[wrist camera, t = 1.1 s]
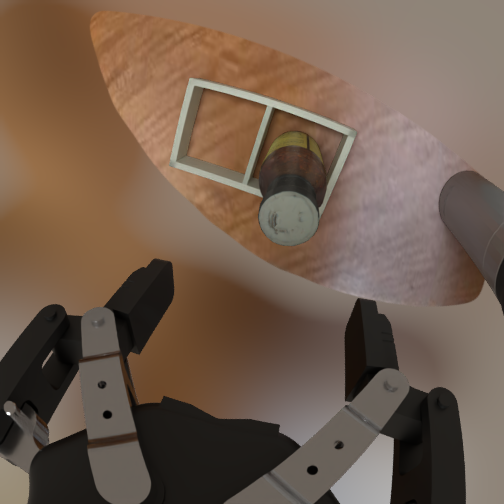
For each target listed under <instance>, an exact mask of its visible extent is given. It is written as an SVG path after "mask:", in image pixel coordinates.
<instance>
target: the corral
mask: <svg viewBox="0 0 504 504" xmlns="http://www.w3.org/2000/svg"><path fill="white" fill-rule="evenodd" d="M204 88H207V89H211V90H215V91H219V92H223V93H227V94H231V95H234V96H238V97H241V98H245V99H248V100H252V101H255V102H258V103H262V104H265V105H267V108H266V111H265V114H264V117H263V120H262V123H261V126H260V129H259V132H258V135H257V139H256V142H255V145H254V148H253V151H252V154H251V157H250V160H249V163H248V167H247V170H246V173H245V174H242V173H239V172H236V171H233V170H230V169H227V168H224V167H221V166H218V165H215V164H212V163H209V162H206V161H203V160H199V159H196V158H193V157H190V156H186V155H187V151H188V147H189V142H190V138H191V134H192V130H193V126H194V122H195V118H196V114H197V111H198V107H199V103H200V99H201V96H202V92H203V89H204ZM275 108H277V109H280V110H283V111H286V112H289V113H292V114H294V115H297V116H300V117H303V118H305V119H308V120H311V121H313V122H316V123H319V124H321V125H324V126H326V127H329V128H331V129H334V130H336V131H338V132H341V133H343V134H344V135H343V138H342V140H341V143H340V145H339V148H338V150H337V152H336V155H335V157H334V160H333V162H332V164H331V167H330V169H329V172H328V174H327V176H326V180H327V190H326V194H325V197H324V201H323V204H322V205H321V207H319V219H320V217H321V215H322V213H323V211H324V208H325V206H326V204H327V202H328V199H329V197H330V195H331V193H332V190H333V188H334V186H335V184H336V181H337V179H338V177H339V174H340V172H341V170H342V167H343V165H344V163H345V160H346V158H347V156H348V153H349V151H350V149H351V146H352V144H353V141H354V139H355V136H356V134H357V131H355V130H354V129H353V128H351V127H349V126H346V125H344V124H342V123H339V122H337V121H334V120H332V119H330V118H327V117H325V116H322V115H319V114H317V113H314V112H312V111H309V110H306V109H303V108H301V107H298V106H295V105H292V104H289V103H286V102H283V101H280V100H277V99H274V98H271V97H268V96H265V95H262V94H258V93H255V92H252V91H248V90H245V89H241V88H237V87H234V86H230V85H226V84H222V83H218V82H214V81H210V80H205V79H201V78H190V79H189V83H188V87H187V90H186V94H185V98H184V102H183V106H182V110H181V114H180V118H179V122H178V127H177V131H176V135H175V140H174V145H173V149H172V154H171V159H170V164H169V166H171V167H174V168H178V169H181V170H184V171H187V172H190V173H193V174H196V175H199V176H202V177H205V178H208V179H211V180H214V181H217V182H220V183H223V184H226V185H229V186H232V187H235V188H238V189H240V190H243V191H246V192H249V193H252V194H255V195H257V196H260V197H262V194H261V192H260V188H259V179H256V178H253V174H254V170H255V167H256V164H257V161H258V158H259V155H260V152H261V149H262V146H263V143H264V140H265V137H266V134H267V131H268V128H269V125H270V122H271V120H272V117H273V114H274V111H275Z"/></svg>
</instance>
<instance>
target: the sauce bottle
mask: <svg viewBox="0 0 504 504" xmlns="http://www.w3.org/2000/svg"><path fill="white" fill-rule="evenodd" d="M259 188H260V192H261V194H262V197H263V200H262V202H261V204H260V208H259V214H258V220H259V224H260V227H261V230H262V231H263V233H264V234H265V235H266V236H267V237H268V238H269V239H270V240H271V241H272V242H275V243H276V244H279V245H283V246H295V245H299V244H302V243H304V242H306V241H308V240H309V239H310V238H311V237H312V236H313V235H314V234H315V232H316V231H317V228H318V225H319V207H321V205H322V204H323V201H324V197H325V194H326V190H327V180H326V171H325V167H324V164H323V160H322V156H321V153H320V149H319V147H318V145H317V143H316V142H315V141H314V139H313V138H311V137H310V136H309V135H308V134H306V133H303V132H299V131H292V132H291V131H290V132H286V133H283V134H282V135H280V136H279V137H278V138H276V139H275V141H274V142H273V143H272V145H271V147H270V149H269V151H268V153H267V155H266V157H265V159H264V161H263V164H262V166H261V169H260V173H259Z"/></svg>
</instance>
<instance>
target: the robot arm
mask: <svg viewBox="0 0 504 504" xmlns="http://www.w3.org/2000/svg"><path fill="white" fill-rule="evenodd" d="M439 210H440V215H441V217H442V220H443V221H444V223H445V224H446V226H447V227H448V228H449V229H450V231H451V232H452V233H453V235H454V236H455V237H456V239H457V240H458V241H459V243H460V244H461V245H462V247H463V248H464V249H465V251H466V252H467V254H468V255H469V256H470V258H471V259H472V261H473V262H474V263H475V265H476V266H477V268H478V269H479V271H480V272H481V274H482V275H483V277H484V278H485V280H486V281H487V283H488V284H489V286H490V287H491V289H492V291H493V292H494V294H495V295H496V297H497V299H498V300H499V302H500V304H501V306H502V311H503V314H504V191H502V190H501V189H499V188H498V187H497V186H495V185H494V184H493V183H491V182H490V181H488V180H487V179H485V178H484V177H482V176H481V175H479V174H478V173H475V172H473V171H463V172H460V173H458V174H456V175H454V176H453V177H451V178H450V180H449V181H448V182H447V183H446V185H445V186H444V188H443V190H442V192H441V195H440V200H439ZM172 268H173V267H172V263H171V262H170V261H164V260H160V259H153V260H152V261H151V263H150V264H149V265H148V266H147V267H146V268H144V267H142V268H140V269H138V270H136V271H135V272H133V273H132V274H131V275H130V276H129V277H128V279H127V280H126V281H125V282H124V283H123V284H122V286H121V287H120V288H119V289H118V290H117V292H116V293H115V294H114V295H113V296H112V297H111V299H110V300H109V301H108V302H107V303H106V305H105V306H104V307H97V308H93V309H91V310H89V311H87V312H86V313H85V314H84V315H83V316H72V315H67V313H66V311H65V309H64V307H63V306H61V305H57V304H53V305H48V306H46V307H44V308H43V309H42V310H41V311H40V312H39V313H38V314H37V315H36V317H35V318H34V319H33V320H32V321H31V323H30V324H29V325H28V326H27V328H26V329H25V330H24V331H23V333H22V334H21V335H20V336H19V338H18V339H17V340H16V341H15V343H14V344H13V345H12V347H11V348H10V349H9V351H8V352H7V353H6V355H5V356H4V357H3V359H2V360H1V362H0V457H2V458H4V459H6V460H7V461H8V462H10V463H11V464H13V465H15V466H18V467H20V468H21V469H23V470H24V471H25V472H27V473H28V474H29V482H30V486H29V499H28V504H340V503H339V502H338V500H337V499H336V497H335V496H334V494H333V493H332V492H331V490H330V488H331V487H332V486H333V485H334V484H335V483H336V482H337V481H338V480H339V479H340V478H341V477H342V476H343V475H344V474H345V473H346V472H347V470H348V469H349V468H350V467H351V466H352V465H353V464H354V463H355V462H356V461H357V460H358V458H359V457H360V456H361V455H362V454H363V453H364V452H365V450H366V449H367V448H368V447H369V446H370V444H371V443H372V442H373V441H374V440H375V438H376V437H377V436H378V435H379V433H381V434H384V435H386V436H389V437H392V438H394V454H393V475H392V490H391V501H390V504H466V486H465V463H464V451H463V440H462V432H461V424H460V418H459V411H458V404H457V400H456V398H455V396H454V395H453V394H452V392H450V391H449V390H447V389H446V388H442V387H438V388H434V389H432V390H431V391H430V392H429V394H428V393H425V392H423V391H420V390H417V389H414V388H412V387H411V386H409V382H408V380H407V378H406V377H405V376H404V375H403V374H402V373H401V372H400V371H399V367H398V361H397V355H396V349H395V344H394V338H393V335H392V328H391V324H390V322H389V321H388V319H387V318H386V316H385V315H384V314H378V311H377V305H376V302H375V301H373V300H367V299H361V298H358V299H357V301H356V303H355V306H354V308H353V311H352V313H351V316H350V318H349V321H348V323H347V326H346V331H345V401H348V402H351V403H350V404H349V405H348V406H347V405H346V406H345V407H343V408H342V409H341V410H340V411H339V412H338V413H337V414H336V415H335V416H334V417H333V418H332V419H331V420H330V421H329V422H328V423H327V424H326V425H325V426H324V427H323V428H322V429H321V430H319V431H318V432H317V433H316V434H315V435H314V436H313V437H312V438H311V439H309V440H308V441H307V442H306V443H305V444H304V445H303V446H300V445H298V444H297V443H296V442H295V441H294V440H292V439H291V438H289V437H287V436H286V435H284V434H282V433H279V427H280V425H278V424H272V423H267V422H262V421H256V420H252V419H218V418H215V417H213V416H211V415H209V414H208V413H205V412H204V411H202V410H200V409H198V408H196V407H195V406H193V405H191V404H188V403H185V402H181V401H178V400H175V399H172V398H169V397H165V396H164V397H163V399H162V401H161V403H145V404H140V405H139V402H138V399H137V396H136V392H135V388H134V384H133V380H132V376H131V372H130V367H129V363H128V359H127V356H128V355H129V353H130V352H133V353H136V354H140V353H141V351H142V349H143V348H144V346H145V344H146V343H147V341H148V339H149V338H150V336H151V334H152V333H153V331H154V330H155V328H156V326H157V325H158V323H159V322H160V320H161V318H162V317H163V315H164V313H165V312H166V310H167V309H168V307H169V305H170V304H171V302H172V300H173V296H174V280H173V269H172ZM51 350H52V351H53V353H52V355H51V357H50V358H49V359H48V361H47V362H46V364H45V365H44V367H43V368H42V364H43V362H44V360H45V359H46V358H47V356H48V355H49V353H50V352H51ZM78 370H79V373H80V383H81V393H82V401H83V409H84V416H85V422H86V429H84V430H82V431H79V432H77V433H75V434H73V435H70V436H68V437H66V438H63V439H61V440H58V441H56V442H54V443H51V444H49V438H48V437H49V429H48V426H47V424H48V423H49V421H50V419H51V417H52V415H53V413H54V411H55V410H56V408H57V406H58V404H59V403H60V401H61V399H62V397H63V396H64V394H65V392H66V390H67V389H68V387H69V385H70V384H71V382H72V380H73V379H74V377H75V375H76V374H77V372H78ZM48 444H49V445H48Z"/></svg>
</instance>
